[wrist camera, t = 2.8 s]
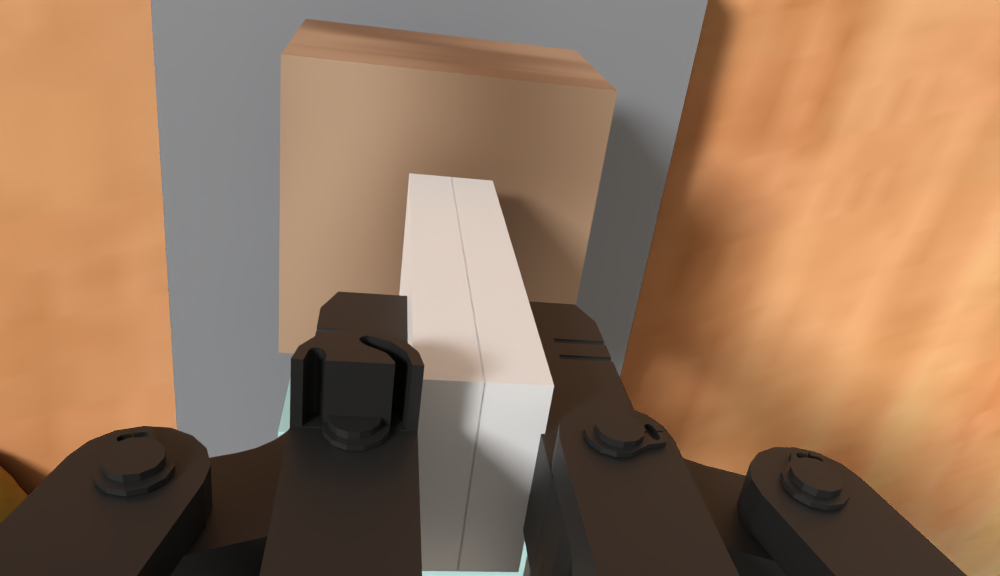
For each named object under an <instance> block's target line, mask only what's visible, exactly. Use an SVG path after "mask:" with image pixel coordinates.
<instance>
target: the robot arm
mask: <svg viewBox="0 0 1000 576" xmlns="http://www.w3.org/2000/svg"><path fill="white" fill-rule="evenodd" d="M524 541H525V545H526V550H527V555H528V561H529V566H530V573H529V576H967V575H965V574H964V573H963V572H962V571H961V570H960V569H959V568H958V567H957V566H956V565H955V564H954V563H952V562H951V561H950V560H949V559H948V558H947V557H946V556H945V555H944V554H943V553H942V552H940V551H939V550H938V549H937V548H936V547H935V546H934V545H933V544H932V543H931V542H930V541H929V540H927V539H926V538H925V537H924V536H923V535H922V534H921V533H920V532H919V531H918V530H917V529H915V528H914V527H913V526H912V525H911V524H910V523H909V522H908V521H907V520H906V519H905V518H904V517H902V516H901V515H900V514H899V513H898V512H897V511H896V510H895V509H894V508H893V507H892V506H890V505H889V504H888V503H887V502H886V501H885V500H884V499H883V498H882V497H881V496H880V495H878V494H877V493H876V492H875V491H874V490H873V489H872V488H871V487H870V486H869V485H868V484H867V483H865V482H864V481H863V480H862V479H861V478H860V477H858V476H857V475H856V474H854V473H853V472H852V471H850V470H849V469H847V468H846V467H845V466H843V465H842V464H840V463H838V462H836V461H834V460H832V459H829V458H827V457H825V456H823V455H822V454H819V453H816V452H812V451H807V450H804V449H798V448H784V447H774V448H771V449H768V450H765V451H762V452H759V453H758V454H757V455H756V457H755V458H754V459H753V461H752V462H751V463H750V466H749V469H748V472H747V475H746V476H744V475H740V474H736V473H732V472H729V471H725V470H721V469H717V468H713V467H709V466H705V465H702V464H699V463H695V462H692V461H689V460H686V459H684V458H683V457H682V455H681V453H680V451H679V449H678V447H677V445H676V443H675V441H674V439H673V438H672V437H671V436H670V434H669V433H668V432H667V430H666V429H665V428H664V427H663V426H662V425H660V424H659V423H657V422H656V421H655V420H653V419H652V418H650V417H649V416H647V415H645V414H643V413H640V412H637V411H635V410H634V409H633V406H632V404H631V402H630V400H629V397H628V395H627V393H626V390H625V388H624V386H623V384H622V381H621V379H620V377H619V374H618V372H617V370H616V368H615V365H614V363H613V362H611V356H610V354H609V352H608V349H607V347H606V345H604V340H603V338H602V335H601V333H600V331H599V329H598V326H597V324H596V322H595V321H594V320H593V319H591V318H590V317H589V316H588V315H587V314H586V313H584V312H583V311H582V310H581V309H580V308H579V307H577V306H576V305H575V304H561V303H546V302H531V301H529V300H528V297H527V293H526V290H525V287H524V283H523V280H522V277H521V273H520V270H519V267H518V263H517V260H516V257H515V253H514V250H513V247H512V243H511V240H510V237H509V233H508V230H507V227H506V223H505V220H504V217H503V213H502V210H501V207H500V203H499V200H498V197H497V193H496V190H495V187H494V183H493V181H491V180H479V179H468V178H457V177H446V176H435V175H423V174H412V173H409V183H408V195H407V207H406V219H405V231H404V244H403V256H402V268H401V280H400V292H399V295H385V294H370V293H355V292H339V291H338V292H337V293H336V294H335V295H334V296H333V297H332V298H331V299H330V300H328V301H327V302H326V303H325V304H324V305H323V306H322V307H321V308H320V313H319V318H318V323H317V330H316V334H315V336H314V337H313V338H311V339H309V340H308V341H306V342H304V343H303V344H301V345H299V346H298V348H297V350H296V351H295V353H294V354H293V356H292V358H291V376H290V428H289V430H288V431H286V432H285V433H284V434H282V435H281V436H279V437H278V438H276V439H275V440H273V441H271V442H269V443H266V444H264V445H262V446H259V447H257V448H254V449H250V450H246V451H242V452H238V453H233V454H227V455H222V456H216V457H210V458H209V455H208V452H207V448H206V447H205V446H204V445H203V444H202V443H200V442H199V441H198V440H197V439H196V438H195V437H194V436H193V435H190V434H187V433H184V432H181V431H178V430H176V429H173V428H165V427H149V426H142V427H135V428H129V429H123V430H116V431H113V432H111V433H108V434H106V435H103V436H100V437H98V438H95V439H93V440H90V441H88V442H87V443H85V444H84V445H82V446H81V447H80V448H78V449H77V450H76V451H74V452H73V453H71V454H70V455H69V456H67V457H66V458H65V459H64V460H63V461H62V462H61V463H60V464H59V465H58V466H57V467H56V468H55V469H54V470H53V471H52V472H51V473H50V474H49V475H48V476H47V477H46V478H45V479H44V480H43V481H42V482H41V483H40V484H39V485H38V486H37V487H36V488H35V489H34V490H33V491H32V492H31V493H30V494H29V495H28V496H27V497H26V498H25V499H24V500H23V501H22V502H21V503H20V504H19V505H18V506H17V507H16V508H15V509H14V510H13V511H12V512H11V513H10V514H9V515H8V516H7V517H6V518H5V519H4V520H3V521H2V522H1V523H0V576H422V571H455V572H519V567H520V562H521V556H522V551H523V546H524Z"/></svg>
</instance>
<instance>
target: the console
mask: <svg viewBox="0 0 1000 576" xmlns="http://www.w3.org/2000/svg"><path fill="white" fill-rule="evenodd" d="M707 3H708V0H151V13H152V30H153V46H154V62H155V78H156V95H157V111H158V127H159V144H160V160H161V176H162V192H163V209H164V225H165V241H166V257H167V274H168V290H169V306H170V322H171V339H172V355H173V371H174V387H175V404H176V420H177V430H178V431H181V432H184V433H187V434H190V435H193V436H194V437H195V438H196V439H197V440H198V441H199V442H200V443H202V444H203V445H204V446H205V447H206V448H207V452H208V455H209V458H210V457H216V456H222V455H227V454H233V453H238V452H242V451H246V450H250V449H254V448H257V447H259V446H262V445H264V444H266V443H269V442H271V441H273V440H275V439H276V438H278V430H279V425H280V421H281V416H282V412H283V407H284V403H285V398H286V394H287V389H288V385H289V380H290V376H291V358H292V356H293V354H294V353H279V236H280V105H281V53H282V52H283V50H284V49H285V48H286V46H287V45H288V43H289V42H290V40H291V39H292V38H293V36H294V35H295V33H296V32H297V30H298V29H299V28H300V26H301V25H302V23H303V22H304V20H305V19H313V20H321V21H330V22H338V23H347V24H356V25H364V26H373V27H381V28H390V29H399V30H407V31H416V32H424V33H433V34H441V35H450V36H459V37H467V38H476V39H484V40H493V41H502V42H510V43H519V44H527V45H536V46H545V47H553V48H562V49H570V50H576V51H577V52H578V53H579V54H580V55H581V56H582V57H583V58H584V59H585V60H586V61H587V62H588V63H589V64H590V65H591V66H592V67H593V68H594V69H595V70H596V71H597V72H598V73H599V74H600V75H601V76H603V77H604V78H605V79H606V80H607V81H608V82H609V83H610V84H611V85H612V86H613V87H614V88H615V89H616V90H617V96H616V101H615V106H614V111H613V117H612V122H611V127H610V132H609V137H608V142H607V147H606V153H605V158H604V163H603V168H602V173H601V178H600V183H599V188H598V194H597V199H596V204H595V209H594V214H593V219H592V224H591V229H590V235H589V240H588V245H587V250H586V255H585V260H584V265H583V271H582V276H581V281H580V286H579V291H578V296H577V301H576V306H577V307H579V308H580V309H581V310H582V311H583V312H584V313H586V314H587V315H588V316H589V317H590V318H591V319H593V320H594V321H595V322H596V324H597V326H598V329H599V331H600V333H601V335H602V338H603V340H604V345H606V347H607V349H608V352H609V354H610V356H611V362H613V363H614V365H615V368H616V370H617V372H618V374H619V377H620V375H621V371H622V367H623V362H624V358H625V354H626V350H627V345H628V341H629V337H630V332H631V328H632V324H633V320H634V315H635V311H636V307H637V302H638V298H639V294H640V290H641V285H642V281H643V277H644V272H645V268H646V264H647V260H648V255H649V251H650V247H651V242H652V238H653V234H654V230H655V225H656V221H657V217H658V213H659V208H660V204H661V200H662V195H663V191H664V187H665V183H666V178H667V174H668V170H669V165H670V161H671V157H672V153H673V148H674V144H675V140H676V135H677V131H678V127H679V123H680V118H681V114H682V110H683V105H684V101H685V97H686V93H687V88H688V84H689V80H690V75H691V71H692V67H693V63H694V58H695V54H696V50H697V45H698V41H699V37H700V33H701V28H702V24H703V20H704V16H705V11H706V7H707ZM529 573H530V566H529V561H528V555H527V558H526V563H525V568H524V573H523V576H529Z"/></svg>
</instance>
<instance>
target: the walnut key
mask: <svg viewBox="0 0 1000 576" xmlns="http://www.w3.org/2000/svg"><path fill="white" fill-rule="evenodd" d="M616 96H617V90H616V89H615V88H614V87H613V86H612V85H611V84H610V83H609V82H608V81H607V80H606V79H605V78H604V77H603V76H601V75H600V74H599V73H598V72H597V71H596V70H595V69H594V68H593V67H592V66H591V65H590V64H589V63H588V62H587V61H586V60H585V59H584V58H583V57H582V56H581V55H580V54H579V53H578V52H577V51H576V50H570V49H562V48H553V47H545V46H536V45H527V44H519V43H510V42H502V41H493V40H484V39H476V38H467V37H459V36H450V35H441V34H433V33H424V32H416V31H407V30H399V29H390V28H381V27H373V26H364V25H356V24H347V23H338V22H330V21H321V20H313V19H305V20H304V22H303V23H302V25H301V26H300V28H299V29H298V30H297V32H296V33H295V35H294V36H293V38H292V39H291V40H290V42H289V43H288V45H287V46H286V48H285V49H284V50H283V52H282V53H281V105H280V236H279V353H295V351H296V350H297V348H298V346H299V345H301V344H303V343H304V342H306V341H308V340H309V339H311V338H313V337H314V336H315V334H316V330H317V323H318V318H319V313H320V308H321V307H322V306H323V305H324V304H325V303H326V302H327V301H328V300H330V299H331V298H332V297H333V296H334V295H335V294H336V293H337V292H338V291H339V292H355V293H370V294H385V295H399V292H400V280H401V268H402V256H403V244H404V231H405V219H406V207H407V195H408V183H409V173H412V174H423V175H435V176H446V177H457V178H468V179H479V180H491V181H493V183H494V187H495V190H496V193H497V197H498V200H499V203H500V207H501V210H502V213H503V217H504V220H505V223H506V227H507V230H508V233H509V237H510V240H511V243H512V247H513V250H514V253H515V257H516V260H517V263H518V267H519V270H520V273H521V277H522V280H523V283H524V287H525V290H526V293H527V297H528V300H529V301H531V302H546V303H561V304H575V305H576V301H577V296H578V291H579V286H580V281H581V276H582V271H583V265H584V260H585V255H586V250H587V245H588V240H589V235H590V229H591V224H592V219H593V214H594V209H595V204H596V199H597V194H598V188H599V183H600V178H601V173H602V168H603V163H604V158H605V153H606V147H607V142H608V137H609V132H610V127H611V122H612V117H613V111H614V106H615V101H616Z"/></svg>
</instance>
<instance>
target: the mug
mask: <svg viewBox="0 0 1000 576" xmlns="http://www.w3.org/2000/svg"><path fill="white" fill-rule="evenodd" d="M27 496H28V495H27V494H26V493H25V492H24V491H23V490H22V489H21V488H20V486H19V485H18V484H17V483H16V481H15V480H14V478H13V477H12V476H11V475H10V474H9V473H8V472H7V471H6V470H4V469H3V468H2V467H1V466H0V523H1V522H2V521H3V520H4V519H5V518H6V517H7V516H8V515H9V514H10V513H11V512H12V511H13V510H14V509H15V508H16V507H17V506H18V505H19V504H20V503H21V502H22V501H23V500H24V499H25V498H26V497H27Z"/></svg>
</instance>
